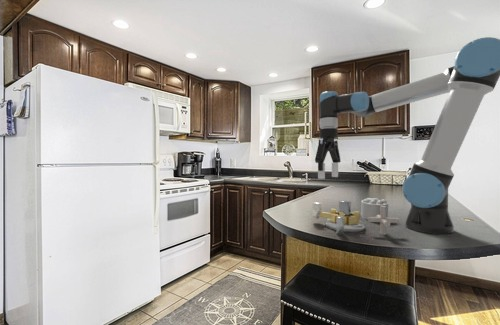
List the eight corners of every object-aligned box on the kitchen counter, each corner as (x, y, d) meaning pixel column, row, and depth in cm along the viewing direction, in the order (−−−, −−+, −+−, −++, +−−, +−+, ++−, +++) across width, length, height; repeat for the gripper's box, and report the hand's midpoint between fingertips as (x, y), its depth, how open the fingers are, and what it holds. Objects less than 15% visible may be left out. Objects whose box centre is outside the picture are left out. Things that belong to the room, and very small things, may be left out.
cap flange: (363, 224, 105) (363, 200, 104) (364, 233, 92) (364, 205, 91) (327, 221, 110) (328, 197, 110) (324, 229, 97) (324, 203, 97)
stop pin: (343, 233, 92) (343, 216, 92) (343, 235, 90) (343, 218, 89) (336, 232, 93) (336, 216, 93) (336, 234, 90) (336, 217, 90)
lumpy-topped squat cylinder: (382, 215, 121) (382, 197, 121) (392, 222, 108) (392, 202, 108) (359, 214, 123) (359, 196, 123) (366, 221, 110) (366, 201, 110)
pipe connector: (403, 239, 85) (404, 209, 85) (371, 237, 87) (371, 208, 87) (393, 231, 95) (393, 204, 95) (364, 229, 97) (364, 203, 97)
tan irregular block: (361, 220, 102) (361, 205, 102) (356, 226, 93) (356, 209, 93) (317, 214, 112) (317, 200, 112) (308, 219, 103) (308, 204, 103)
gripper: (332, 131, 122) (332, 175, 122) (306, 126, 103) (306, 179, 104) (348, 130, 117) (347, 176, 117) (323, 125, 99) (323, 180, 99)
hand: (328, 177), depth 111 cm, fingers open, 13 cm apart
